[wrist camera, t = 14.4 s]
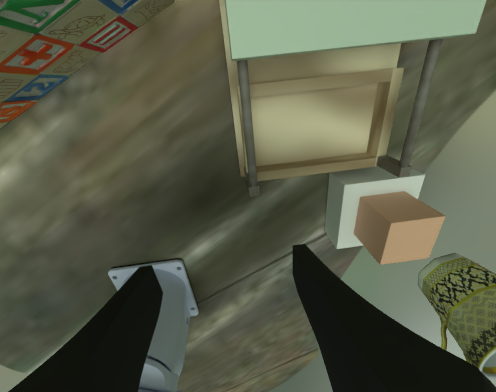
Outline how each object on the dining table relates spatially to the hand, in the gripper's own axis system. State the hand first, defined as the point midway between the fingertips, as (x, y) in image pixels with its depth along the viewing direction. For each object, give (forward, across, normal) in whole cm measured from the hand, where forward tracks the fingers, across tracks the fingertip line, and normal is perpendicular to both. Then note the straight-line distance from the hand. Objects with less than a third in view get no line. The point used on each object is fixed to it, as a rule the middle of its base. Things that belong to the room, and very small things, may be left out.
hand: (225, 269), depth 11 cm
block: (+7, -14, +3) cm, 16 cm away
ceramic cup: (+11, -26, +18) cm, 33 cm away
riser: (+10, -14, +4) cm, 17 cm away
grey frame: (+10, -8, -8) cm, 15 cm away
